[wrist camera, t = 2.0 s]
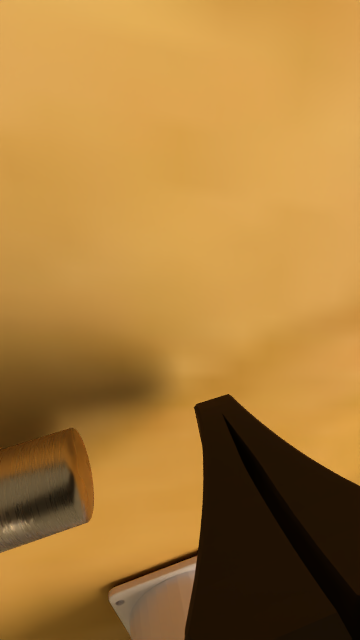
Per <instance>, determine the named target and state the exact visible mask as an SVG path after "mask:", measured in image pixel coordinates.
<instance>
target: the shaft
mask: <svg viewBox="0 0 360 640" xmlns="http://www.w3.org/2000/svg"><path fill="white" fill-rule="evenodd" d="M93 506H94V491H93V480H92V473H91V467H90V463H89V459H88V455H87V451H86V448H85V445H84V443H83V440H82V438H81V436H80V435H79V433H78V432H77V430H76V429H74V428H69V429H66V430H63V431H59V432H56V433H53V434H50V435H47V436H43V437H40V438H37V439H34V440H30V441H27V442H24V443H21V444H17V445H14V446H11V447H8V448H4V449H1V450H0V553H1V552H4V551H7V550H10V549H13V548H16V547H19V546H21V545H24V544H27V543H30V542H33V541H36V540H39V539H41V538H44V537H47V536H50V535H53V534H56V533H59V532H62V531H64V530H67V529H70V528H73V527H76V526H79V525H82V524H84V523H87V522H89V521H90V519H91V517H92V513H93Z"/></svg>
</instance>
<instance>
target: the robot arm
mask: <svg viewBox="0 0 360 640" xmlns="http://www.w3.org/2000/svg"><path fill="white" fill-rule="evenodd" d="M194 409H195V414H196V418H197V423H198V428H199V433H200V437H201V442H202V448H203V506H202V519H201V530H200V540H199V548H198V555H197V556H195V557H192V558H190V559H187V560H184V561H182V562H179V563H176V564H174V565H171V566H168V567H166V568H163V569H161V570H158V571H155V572H153V573H150V574H147V575H145V576H142V577H140V578H137V579H134V580H132V581H129V582H126V583H124V584H121V585H119V586H116V587H114V588H112V589H111V590H110V591H109V602H110V604H111V605H112V607H113V608H114V610H115V612H116V613H117V615H118V617H119V618H120V620H121V622H122V623H123V625H124V626H125V628H126V630H127V631H128V633H129V635H130V636H131V640H360V486H359V485H357V484H355V483H353V482H351V481H349V480H347V479H345V478H343V477H341V476H339V475H338V474H336V473H334V472H333V471H331V470H329V469H327V468H326V467H324V466H322V465H321V464H319V463H317V462H316V461H314V460H312V459H311V458H309V457H308V456H306V455H305V454H303V453H302V452H300V451H299V450H297V449H296V448H294V447H293V446H291V445H290V444H289V443H287V442H286V441H284V440H283V439H282V438H280V437H279V436H278V435H276V434H275V433H274V432H272V431H271V430H270V429H269V428H267V427H266V426H265V425H264V424H262V423H261V422H260V421H259V420H257V419H256V418H255V417H254V416H253V415H252V414H250V413H249V412H248V411H247V410H246V409H245V408H244V407H243V406H241V405H240V404H239V403H238V402H237V401H236V400H235V399H234V398H233V397H232V396H231V395H229V394H227V395H224V396H221V397H217V398H214V399H211V400H208V401H205V402H202V403H198V404H196V406H195V407H194Z"/></svg>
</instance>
